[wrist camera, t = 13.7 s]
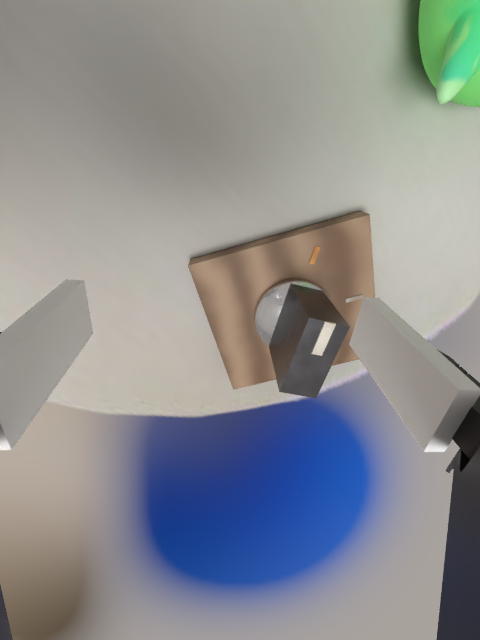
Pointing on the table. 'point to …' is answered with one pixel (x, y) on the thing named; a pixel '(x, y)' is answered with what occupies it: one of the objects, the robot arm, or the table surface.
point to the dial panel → (273, 267)
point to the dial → (300, 334)
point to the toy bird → (451, 48)
